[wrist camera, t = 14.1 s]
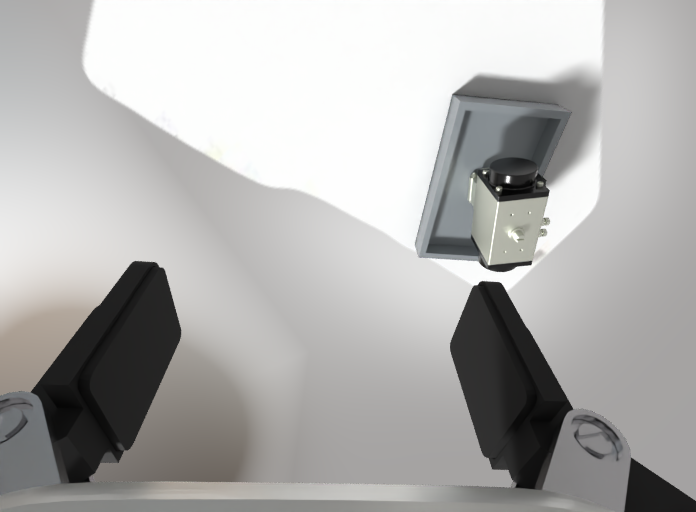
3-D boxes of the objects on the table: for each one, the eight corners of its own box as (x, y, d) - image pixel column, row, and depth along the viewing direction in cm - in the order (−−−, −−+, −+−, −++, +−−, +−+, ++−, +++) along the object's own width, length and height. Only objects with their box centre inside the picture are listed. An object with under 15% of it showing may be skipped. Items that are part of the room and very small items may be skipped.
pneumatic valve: (459, 227, 48) (489, 286, 38) (466, 141, 41) (505, 187, 31) (500, 222, 48) (541, 281, 38) (515, 135, 41) (569, 180, 31)
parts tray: (452, 94, 39) (460, 101, 36) (557, 104, 40) (571, 112, 37) (414, 244, 51) (418, 257, 48) (496, 250, 52) (503, 262, 49)
